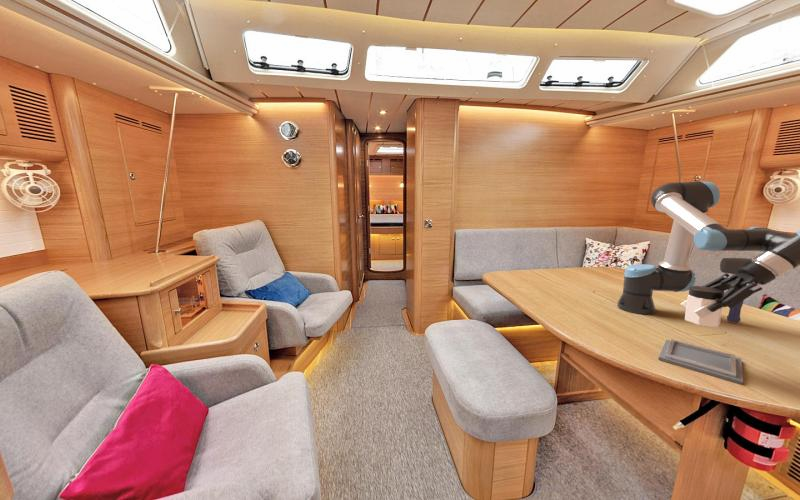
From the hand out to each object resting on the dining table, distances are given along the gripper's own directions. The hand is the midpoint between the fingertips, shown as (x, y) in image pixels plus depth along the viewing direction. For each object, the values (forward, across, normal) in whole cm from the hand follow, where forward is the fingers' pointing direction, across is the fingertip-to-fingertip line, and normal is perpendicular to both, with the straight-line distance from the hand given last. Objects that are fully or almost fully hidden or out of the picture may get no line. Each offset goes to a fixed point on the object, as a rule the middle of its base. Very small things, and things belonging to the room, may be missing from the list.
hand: (690, 310), depth 98 cm
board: (+10, -2, -15) cm, 18 cm away
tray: (+10, -2, -15) cm, 18 cm away
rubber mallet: (-13, +44, -37) cm, 59 cm away
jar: (0, 0, -5) cm, 5 cm away
